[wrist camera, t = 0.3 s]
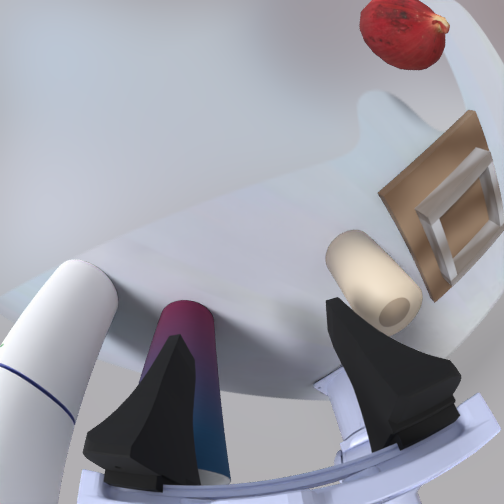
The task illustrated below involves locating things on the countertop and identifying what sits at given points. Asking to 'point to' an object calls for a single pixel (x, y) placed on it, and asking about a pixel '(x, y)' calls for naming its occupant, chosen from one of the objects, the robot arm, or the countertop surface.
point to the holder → (448, 205)
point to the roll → (373, 282)
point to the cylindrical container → (49, 378)
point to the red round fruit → (404, 33)
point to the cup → (198, 384)
